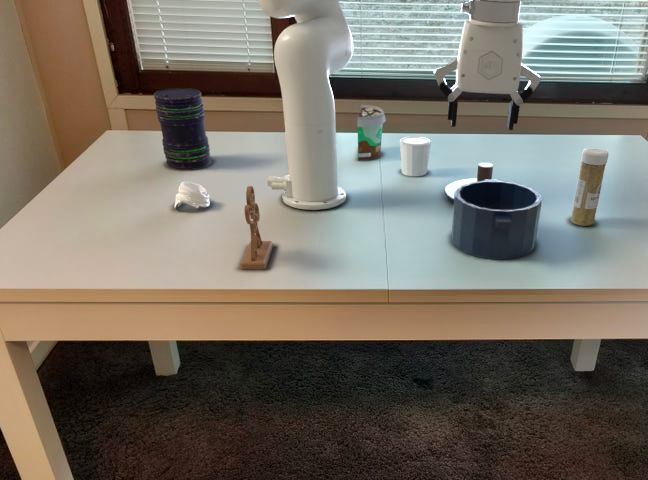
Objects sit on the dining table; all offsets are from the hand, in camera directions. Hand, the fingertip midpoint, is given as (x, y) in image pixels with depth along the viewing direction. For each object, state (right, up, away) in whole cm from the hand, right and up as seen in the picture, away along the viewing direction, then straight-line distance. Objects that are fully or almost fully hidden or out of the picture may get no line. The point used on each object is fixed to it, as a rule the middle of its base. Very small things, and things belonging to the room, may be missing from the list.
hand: (481, 126), depth 109 cm
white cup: (-11, +2, +35) cm, 37 cm away
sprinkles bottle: (+21, -14, +13) cm, 28 cm away
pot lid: (+3, -6, +23) cm, 24 cm away
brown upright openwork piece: (-38, -23, -2) cm, 44 cm away
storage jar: (-62, +5, +37) cm, 72 cm away
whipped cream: (-54, -10, +16) cm, 57 cm away
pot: (+3, -19, +5) cm, 19 cm away
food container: (-20, +9, +45) cm, 50 cm away
